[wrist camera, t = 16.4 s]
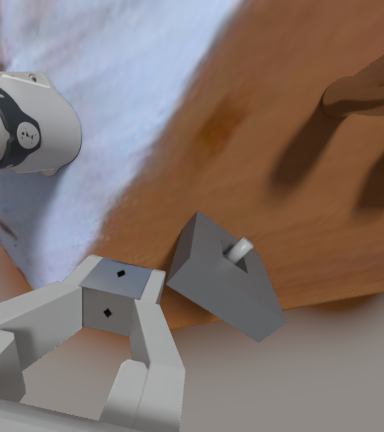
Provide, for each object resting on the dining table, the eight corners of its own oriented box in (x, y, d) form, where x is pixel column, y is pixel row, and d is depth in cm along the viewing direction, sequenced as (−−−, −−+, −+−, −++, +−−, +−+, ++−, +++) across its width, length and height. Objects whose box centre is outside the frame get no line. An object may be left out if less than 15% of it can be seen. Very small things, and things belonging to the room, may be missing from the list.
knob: (219, 277, 41) (220, 295, 37) (200, 265, 41) (198, 281, 36) (255, 242, 38) (262, 257, 33) (235, 227, 37) (239, 240, 32)
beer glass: (339, 129, 35) (424, 125, 21) (309, 106, 34) (377, 86, 20) (373, 90, 32) (495, 56, 19) (341, 64, 31) (444, 8, 18)
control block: (240, 271, 48) (256, 343, 32) (181, 230, 45) (164, 286, 29) (259, 254, 46) (286, 322, 29) (197, 210, 43) (189, 257, 26)
